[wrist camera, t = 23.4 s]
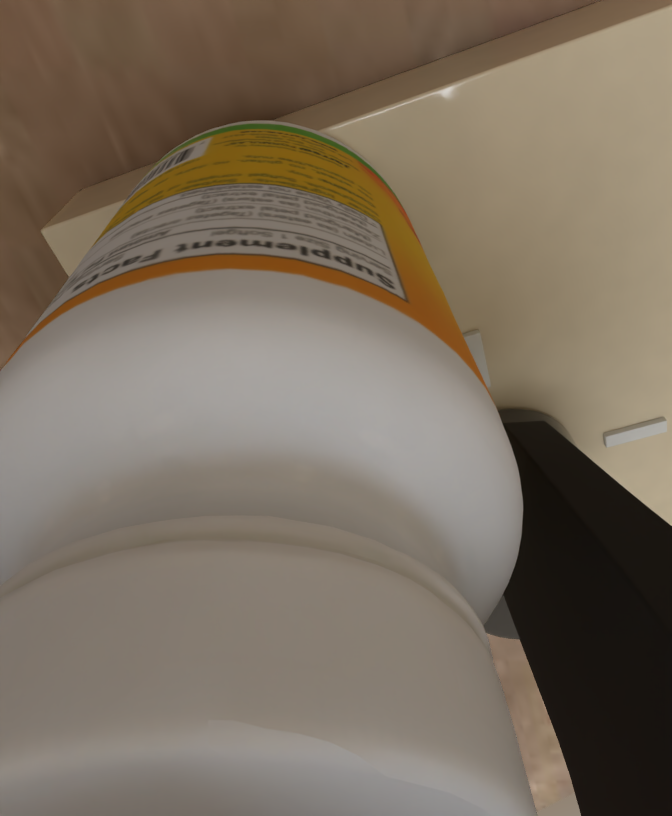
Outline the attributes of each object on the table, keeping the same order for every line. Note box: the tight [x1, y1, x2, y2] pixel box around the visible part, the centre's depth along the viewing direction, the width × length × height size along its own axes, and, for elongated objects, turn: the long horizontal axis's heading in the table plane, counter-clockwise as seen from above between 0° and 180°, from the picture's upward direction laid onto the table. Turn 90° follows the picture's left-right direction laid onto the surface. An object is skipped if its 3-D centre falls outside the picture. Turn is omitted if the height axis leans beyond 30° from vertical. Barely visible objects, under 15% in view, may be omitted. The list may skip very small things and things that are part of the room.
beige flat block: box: [41, 0, 672, 526], centre depth 15 cm, size 14×12×3 cm
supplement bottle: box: [0, 120, 537, 816], centre depth 8 cm, size 5×5×10 cm
